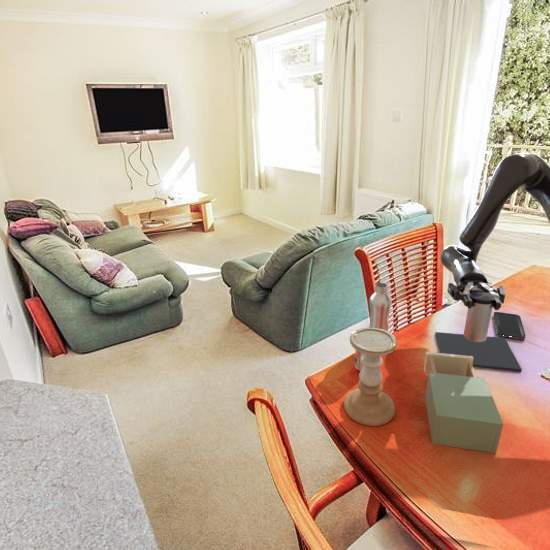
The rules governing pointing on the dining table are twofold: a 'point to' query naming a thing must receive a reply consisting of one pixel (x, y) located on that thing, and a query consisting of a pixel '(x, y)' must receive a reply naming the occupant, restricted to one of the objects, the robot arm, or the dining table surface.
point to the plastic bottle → (380, 307)
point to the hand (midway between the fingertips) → (484, 305)
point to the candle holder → (371, 378)
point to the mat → (480, 351)
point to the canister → (479, 316)
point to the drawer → (449, 364)
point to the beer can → (358, 360)
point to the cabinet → (462, 412)
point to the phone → (509, 325)
